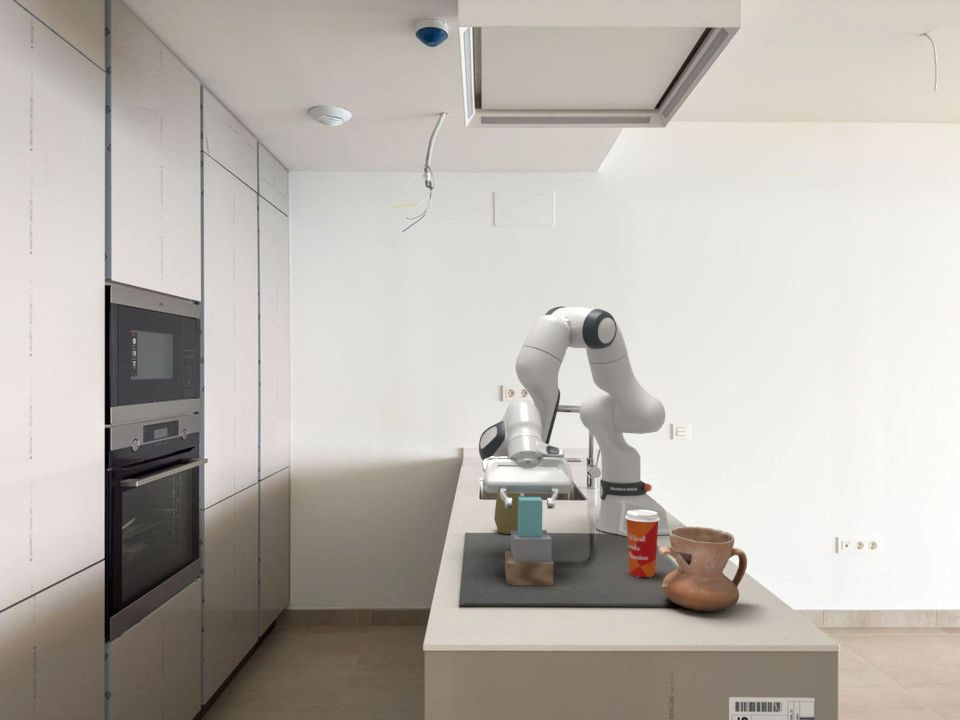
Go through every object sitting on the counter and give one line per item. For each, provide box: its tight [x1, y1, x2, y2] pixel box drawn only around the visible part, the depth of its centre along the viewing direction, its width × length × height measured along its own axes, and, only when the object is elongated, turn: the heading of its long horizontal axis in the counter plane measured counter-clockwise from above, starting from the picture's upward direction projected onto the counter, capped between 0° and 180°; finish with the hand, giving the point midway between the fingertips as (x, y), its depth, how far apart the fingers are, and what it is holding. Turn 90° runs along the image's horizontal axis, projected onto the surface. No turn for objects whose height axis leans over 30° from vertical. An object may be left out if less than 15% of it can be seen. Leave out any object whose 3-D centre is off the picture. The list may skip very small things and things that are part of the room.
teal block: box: [518, 495, 543, 537], centre depth 153 cm, size 5×5×8 cm
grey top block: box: [510, 529, 553, 562], centre depth 153 cm, size 8×8×5 cm
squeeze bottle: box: [494, 493, 520, 535], centre depth 196 cm, size 8×8×18 cm
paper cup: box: [625, 510, 660, 578], centre depth 156 cm, size 8×8×14 cm
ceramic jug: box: [658, 525, 748, 612], centre depth 136 cm, size 18×14×14 cm
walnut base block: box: [504, 550, 555, 586], centre depth 153 cm, size 10×10×5 cm
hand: (529, 507), depth 152 cm, fingers open, 8 cm apart
